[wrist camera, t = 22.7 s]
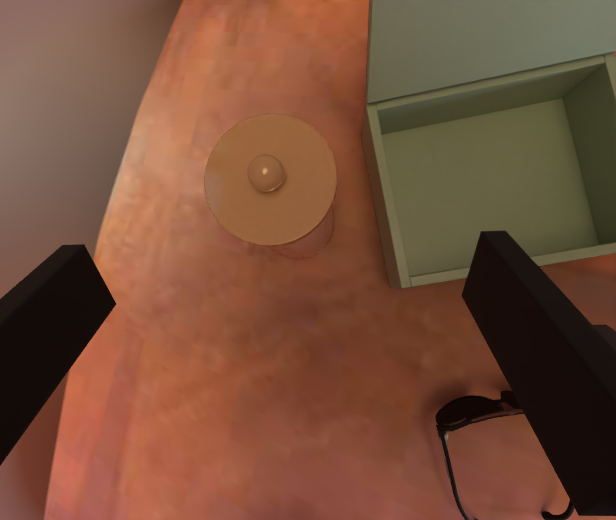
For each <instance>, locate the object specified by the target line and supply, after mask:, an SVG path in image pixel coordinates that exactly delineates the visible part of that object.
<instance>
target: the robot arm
mask: <svg viewBox="0 0 616 520" xmlns="http://www.w3.org/2000/svg"><path fill="white" fill-rule="evenodd" d="M462 297H463V299H464V301H465V303H466V305H467V307H468V308H469V310H470V312H471V314H472V316H473V318H474V320H475V322H476V323H477V325H478V327H479V329H480V331H481V333H482V335H483V337H484V338H485V340H486V342H487V344H488V346H489V348H490V350H491V352H492V354H493V355H494V357H495V359H496V361H497V363H498V365H499V367H500V369H501V370H502V372H503V374H504V376H505V378H506V380H507V382H508V384H509V385H510V387H511V389H512V391H513V393H514V395H515V397H516V399H517V400H518V402H519V404H520V406H521V408H522V410H523V412H524V414H525V415H526V417H527V419H528V421H529V423H530V425H531V427H532V429H533V430H534V432H535V434H536V436H537V438H538V440H539V442H540V444H541V445H542V447H543V449H544V451H545V453H546V455H547V457H548V459H549V460H550V462H551V464H552V466H553V468H554V470H555V472H556V474H557V476H558V477H559V479H560V481H561V483H562V485H563V487H564V489H565V491H566V492H567V494H568V496H569V498H570V500H571V502H572V504H573V506H574V507H575V509H576V511H577V513H578V515H579V516H616V331H614V330H613V329H611V328H610V327H608V326H607V325H592V324H591V323H590V322H589V321H588V320H587V319H586V318H585V317H584V316H583V315H582V313H581V312H580V311H579V310H578V309H577V308H576V307H575V306H574V305H573V304H572V303H571V301H570V300H569V299H568V298H567V297H566V296H565V295H564V294H563V293H562V292H561V290H560V289H559V288H558V287H557V286H556V285H555V284H554V283H553V282H552V281H551V280H550V278H549V277H548V276H547V275H546V274H545V273H544V272H543V271H542V270H541V269H540V268H539V266H538V265H537V264H536V263H535V262H534V261H533V260H532V259H531V258H530V257H529V256H528V254H527V253H526V252H525V251H524V250H523V249H522V248H521V247H520V246H519V245H518V243H517V242H516V241H515V240H514V239H513V238H512V237H511V236H510V235H509V234H508V233H507V231H506V230H503V231H481V233H480V236H479V239H478V243H477V246H476V249H475V253H474V256H473V259H472V263H471V266H470V270H469V273H468V276H467V280H466V283H465V286H464V290H463V293H462ZM115 305H116V302H115V301H114V299H113V297H112V295H111V293H110V291H109V290H108V288H107V286H106V284H105V282H104V280H103V278H102V277H101V275H100V273H99V271H98V269H97V267H96V265H95V264H94V262H93V260H92V258H91V256H90V254H89V253H88V251H87V249H86V247H85V245H62V246H61V247H60V248H59V249H57V250H56V251H55V252H54V253H53V254H52V255H50V256H49V257H48V258H47V259H46V260H45V261H44V262H42V263H41V264H40V265H39V266H38V267H37V268H36V269H34V270H33V271H32V272H31V273H30V274H29V275H28V276H26V277H25V278H24V279H23V280H22V281H21V282H19V283H18V284H17V285H16V286H15V287H14V288H12V289H11V290H10V291H9V292H8V293H7V294H6V295H4V296H3V297H2V298H1V299H0V465H1V464H2V462H3V461H4V460H5V458H6V456H8V454H9V453H10V451H11V450H12V449H13V447H14V446H15V444H16V443H17V442H18V440H19V439H20V437H21V436H22V435H23V433H24V432H25V430H26V429H27V428H28V426H29V425H30V423H31V422H32V421H33V419H34V418H35V416H36V415H37V414H38V412H39V411H40V409H41V408H42V407H43V405H44V404H45V403H46V401H47V400H48V398H49V397H50V396H51V394H52V393H53V391H54V390H55V389H56V387H57V386H58V384H59V383H60V382H61V380H62V379H63V377H64V376H65V375H66V373H67V372H68V371H69V369H70V368H71V366H72V365H73V364H74V362H75V361H76V359H77V358H78V357H79V355H80V354H81V352H82V351H83V350H84V348H85V347H86V346H87V344H88V343H89V341H90V340H91V339H92V337H93V336H94V334H95V333H96V332H97V330H98V329H99V327H100V326H101V325H102V323H103V322H104V320H105V319H106V318H107V316H108V315H109V313H110V312H111V311H112V309H113V308H114V307H115Z"/></svg>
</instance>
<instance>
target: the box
mask: <svg viewBox="0 0 616 520" xmlns="http://www.w3.org/2000/svg"><path fill="white" fill-rule="evenodd" d="M361 139H362V144H363V149H364V155H365V160H366V165H367V170H368V176H369V181H370V186H371V191H372V197H373V202H374V207H375V212H376V218H377V223H378V228H379V233H380V239H381V244H382V249H383V254H384V260H385V265H386V270H387V275H388V281H389V286H390V288H399V289H404V288H410V287H416V286H422V285H428V284H434V283H440V282H446V281H452V280H458V279H464V278H467V276H468V273H469V270H470V266H471V263H472V259H473V256H474V253H475V249H476V246H477V243H478V239H479V236H480V233H481V231H503V230H506V231H507V233H508V234H509V235H510V236H511V237H512V238H513V239H514V240H515V241H516V242H517V243H518V245H519V246H520V247H521V248H522V249H523V250H524V251H525V252H526V253H527V254H528V256H529V257H530V258H531V259H532V260H533V261H534V262H535V263H536V264H537V265H538V266H542V265H548V264H554V263H560V262H566V261H572V260H579V259H585V258H591V257H597V256H603V255H609V254H615V253H616V58H615V55H614V51H613V52H609V53H604V54H599V55H594V56H590V57H585V58H580V59H575V60H571V61H566V62H561V63H556V64H552V65H547V66H542V67H537V68H533V69H528V70H523V71H518V72H514V73H509V74H504V75H499V76H495V77H490V78H485V79H480V80H476V81H471V82H466V83H461V84H457V85H452V86H447V87H442V88H438V89H433V90H428V91H423V92H419V93H414V94H409V95H404V96H400V97H395V98H390V99H385V100H381V101H376V102H371V103H366V105H365V111H364V118H363V124H362V131H361Z"/></svg>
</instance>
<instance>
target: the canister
mask: <svg viewBox="0 0 616 520" xmlns="http://www.w3.org/2000/svg"><path fill="white" fill-rule="evenodd" d="M204 185H205V194H206V199H207V202H208V205H209V207H210V209H211V211H212V213H213V215H214V217H215V218H216V220H217V221H218V222H219V223H220V225H221V226H222V227H223V228H224V229H225V230H227V231H228V232H229V233H230V234H232V235H233V236H235V237H237V238H239V239H241V240H243V241H245V242H247V243H250V244H253V245H257V246H263V247H267V248H269V249H271V250H272V251H274V252H276V253H278V254H280V255H282V256H284V257H287V258H291V259H305V258H309V257H311V256H314V255H316V254H317V253H319V252H320V251H321V250H322V249H324V248H325V246H326V245H327V244H328V242H329V241H330V239H331V237H332V234H333V230H334V209H333V202H334V198H335V195H336V189H337V171H336V164H335V160H334V157H333V154H332V151H331V149H330V147H329V146H328V144H327V142H326V141H325V139H324V138H323V137H322V136H321V135H320V134H319V133H318V132H317V131H316V130H315V129H314V128H313V127H311V126H310V125H309V124H307V123H305V122H304V121H302V120H300V119H297V118H295V117H291V116H287V115H282V114H265V115H258V116H255V117H251V118H249V119H246V120H244V121H242V122H240V123H238V124H237V125H235V126H234V127H232V128H231V129H230V130H228V131H227V132H226V133H225V134H224V135H223V136H222V137H221V139H220V140H219V141H218V142H217V144H216V145H215V147H214V149H213V150H212V152H211V155H210V157H209V159H208V162H207V165H206V171H205V180H204Z"/></svg>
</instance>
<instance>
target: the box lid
mask: <svg viewBox="0 0 616 520" xmlns="http://www.w3.org/2000/svg"><path fill="white" fill-rule="evenodd" d="M613 51H616V0H369V17H368V41H367V64H366V88H365V98H366V101H367V103H371V102H376V101H381V100H385V99H390V98H395V97H400V96H404V95H409V94H414V93H419V92H423V91H428V90H433V89H438V88H442V87H447V86H452V85H457V84H461V83H466V82H471V81H476V80H480V79H485V78H490V77H495V76H499V75H504V74H509V73H514V72H518V71H523V70H528V69H533V68H537V67H542V66H547V65H552V64H556V63H561V62H566V61H571V60H575V59H580V58H585V57H590V56H594V55H599V54H604V53H609V52H613Z"/></svg>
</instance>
